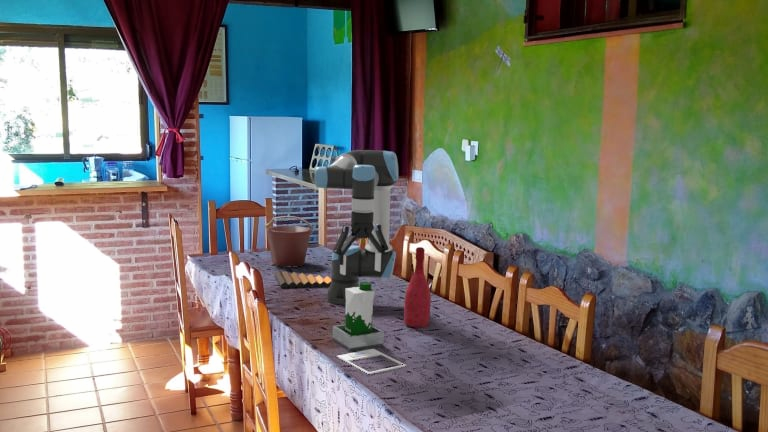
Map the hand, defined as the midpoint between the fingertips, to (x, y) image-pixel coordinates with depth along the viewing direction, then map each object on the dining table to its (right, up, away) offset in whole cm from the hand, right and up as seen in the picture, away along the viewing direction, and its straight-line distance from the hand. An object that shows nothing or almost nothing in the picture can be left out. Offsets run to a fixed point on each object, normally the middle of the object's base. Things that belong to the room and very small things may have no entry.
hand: (360, 272), depth 240 cm
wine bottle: (+20, -22, +28) cm, 41 cm away
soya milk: (-1, -24, +3) cm, 24 cm away
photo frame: (+4, -28, -15) cm, 32 cm away
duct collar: (-1, -25, +3) cm, 25 cm away
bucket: (-42, -6, +127) cm, 133 cm away
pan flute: (-30, -12, +90) cm, 96 cm away
